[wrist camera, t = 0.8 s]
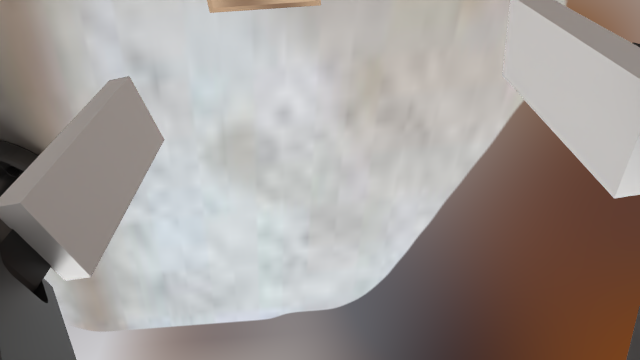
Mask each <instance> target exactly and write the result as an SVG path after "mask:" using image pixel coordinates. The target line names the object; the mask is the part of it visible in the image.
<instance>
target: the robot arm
mask: <svg viewBox="0 0 640 360" xmlns="http://www.w3.org/2000/svg"><path fill="white" fill-rule="evenodd" d="M502 76H503V77H504V78H505V79H506V80H507V81H508V83H509V84H510V85H511V86H512V87H513V88H514V89H515V90H516V91H517V92H518V93H519V95H520V96H521V97H522V98H523V99H524V100H525V101H526V102H527V103H528V104H529V106H530V107H531V108H532V109H533V110H534V111H535V112H536V113H537V114H538V115H539V116H540V118H541V119H543V121H544V122H545V123H546V124H547V125H548V126H549V127H550V129H551V130H552V131H553V132H554V133H555V134H556V135H557V136H558V137H559V138H560V139H561V141H562V142H563V143H564V144H565V145H566V146H567V147H568V148H569V149H570V150H571V152H573V154H574V155H575V156H576V157H577V158H578V159H579V160H580V161H581V162H582V163H583V165H584V166H585V167H586V168H587V169H588V170H589V171H590V172H591V173H592V175H593V176H594V177H595V178H596V179H597V180H598V181H599V182H600V183H601V184H602V185H603V187H604V188H605V189H606V190H607V191H608V192H609V193H610V194H611V195H612V196H613V198H619V197H627V196H633V195H640V44H637V43H631V42H629V41H627V40H625V39H624V38H622V37H620V36H618V35H616V34H614V33H613V32H611V31H609V30H607V29H605V28H604V27H602V26H600V25H598V24H596V23H594V22H593V21H591V20H589V19H587V18H586V17H584V16H582V15H580V14H578V13H576V12H575V11H573V10H571V9H569V8H567V7H566V6H564V5H562V4H560V3H558V2H557V1H555V0H510V7H509V16H508V26H507V35H506V45H505V54H504V63H503V73H502ZM163 141H164V138H163V136H162V135H161V133H160V131H159V129H158V127H157V126H156V124H155V122H154V120H153V118H152V116H151V115H150V113H149V111H148V109H147V107H146V106H145V104H144V102H143V100H142V98H141V97H140V95H139V93H138V91H137V89H136V87H135V86H134V84H133V82H132V80H131V78H130V77H129V76H128V77H123V78H118V79H114V80H109V81H108V83H107V84H106V85H105V86H104V87H103V88H102V89H101V90H100V91H99V92H98V93H97V94H96V95H95V96H94V97H93V99H92V100H91V101H90V102H89V103H88V104H87V105H86V106H85V107H84V108H83V109H82V110H81V111H80V112H79V113H78V115H77V116H76V117H75V118H74V119H73V120H72V121H71V122H70V123H69V124H68V125H67V126H66V127H65V128H64V130H63V131H62V132H61V133H60V134H59V135H58V136H57V137H56V138H55V139H54V140H53V141H52V142H51V143H50V144H49V146H48V147H47V148H46V149H45V150H44V151H43V152H42V153H41V154H40V155H39V156H37V155H35V154H34V153H32V152H30V151H28V150H26V149H23V148H21V147H19V146H16V145H13V144H10V143H7V142H4V141H0V360H76V357H75V354H74V351H73V348H72V345H71V342H70V339H69V336H68V333H67V330H66V327H65V324H64V321H63V318H62V315H61V312H60V308H59V305H58V302H57V299H56V296H55V293H54V290H53V287H52V286H51V285H50V284H49V283H48V282H47V281H46V280H45V279H44V277H45V275H46V273H47V272H48V270H49V269H50V267H51V268H52V269H53V270H54V271H55V272H56V273H57V274H58V275H59V276H61V277H62V278H63V279H64V280H65V281H67V280H74V279H81V278H87V277H91V276H92V274H93V272H94V270H95V269H96V267H97V265H98V263H99V261H100V259H101V257H102V255H103V254H104V252H105V250H106V248H107V246H108V244H109V242H110V240H111V239H112V237H113V235H114V233H115V231H116V229H117V227H118V225H119V224H120V222H121V220H122V218H123V216H124V214H125V212H126V210H127V209H128V207H129V205H130V203H131V201H132V199H133V197H134V196H135V194H136V192H137V190H138V188H139V186H140V184H141V182H142V181H143V179H144V177H145V175H146V173H147V171H148V169H149V167H150V166H151V164H152V162H153V160H154V158H155V156H156V154H157V152H158V151H159V149H160V147H161V145H162V143H163ZM627 360H640V307H639V311H638V315H637V319H636V323H635V328H634V331H633V336H632V340H631V344H630V348H629V352H628V356H627Z"/></svg>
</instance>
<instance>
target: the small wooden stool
mask: <svg viewBox="0 0 640 360" xmlns="http://www.w3.org/2000/svg"><path fill="white" fill-rule="evenodd" d="M207 2H208V6H209V11H210V13H214V12H228V11H243V10H258V9H272V8H287V7H302V6H316V5H321V0H207Z"/></svg>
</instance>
